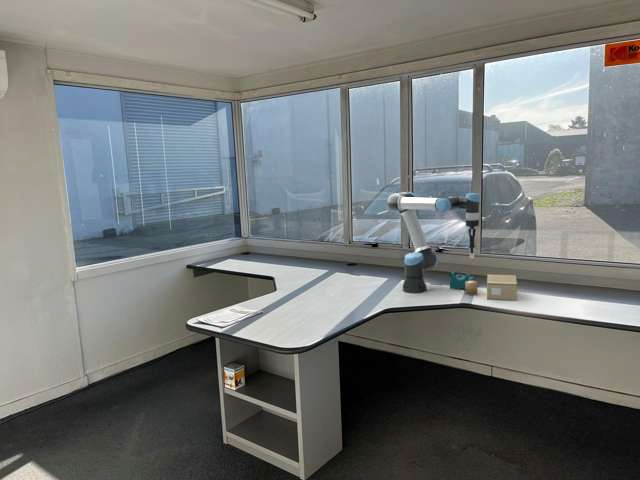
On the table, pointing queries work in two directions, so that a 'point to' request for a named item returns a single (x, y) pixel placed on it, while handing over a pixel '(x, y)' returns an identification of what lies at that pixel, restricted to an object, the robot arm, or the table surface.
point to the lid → (502, 279)
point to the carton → (502, 292)
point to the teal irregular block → (459, 280)
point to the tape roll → (471, 287)
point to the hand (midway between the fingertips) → (471, 258)
